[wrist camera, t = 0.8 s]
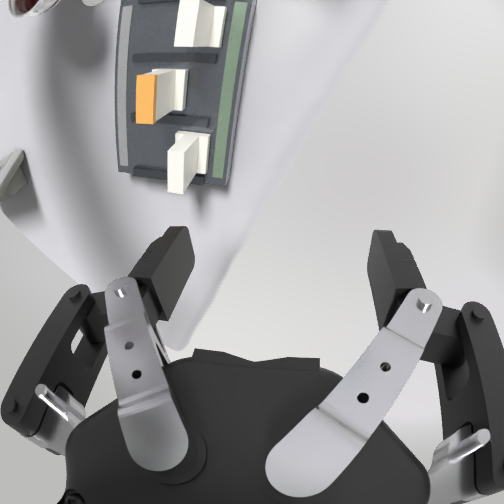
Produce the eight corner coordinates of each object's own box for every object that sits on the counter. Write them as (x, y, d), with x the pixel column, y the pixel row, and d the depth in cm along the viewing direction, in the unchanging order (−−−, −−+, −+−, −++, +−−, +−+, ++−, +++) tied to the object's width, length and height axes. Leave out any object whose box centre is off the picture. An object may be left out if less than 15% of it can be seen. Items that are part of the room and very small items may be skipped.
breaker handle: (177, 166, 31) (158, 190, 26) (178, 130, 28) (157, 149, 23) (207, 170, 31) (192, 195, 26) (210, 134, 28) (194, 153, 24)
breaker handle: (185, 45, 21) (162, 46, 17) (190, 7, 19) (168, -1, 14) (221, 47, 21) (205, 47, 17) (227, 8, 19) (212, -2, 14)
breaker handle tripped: (154, 107, 26) (126, 122, 22) (155, 68, 23) (127, 75, 19) (185, 109, 26) (162, 124, 22) (188, 68, 23) (165, 75, 19)
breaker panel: (129, 161, 34) (116, 173, 31) (134, 1, 20) (118, -1, 17) (229, 175, 34) (224, 188, 32) (256, -1, 20) (253, -7, 17)
